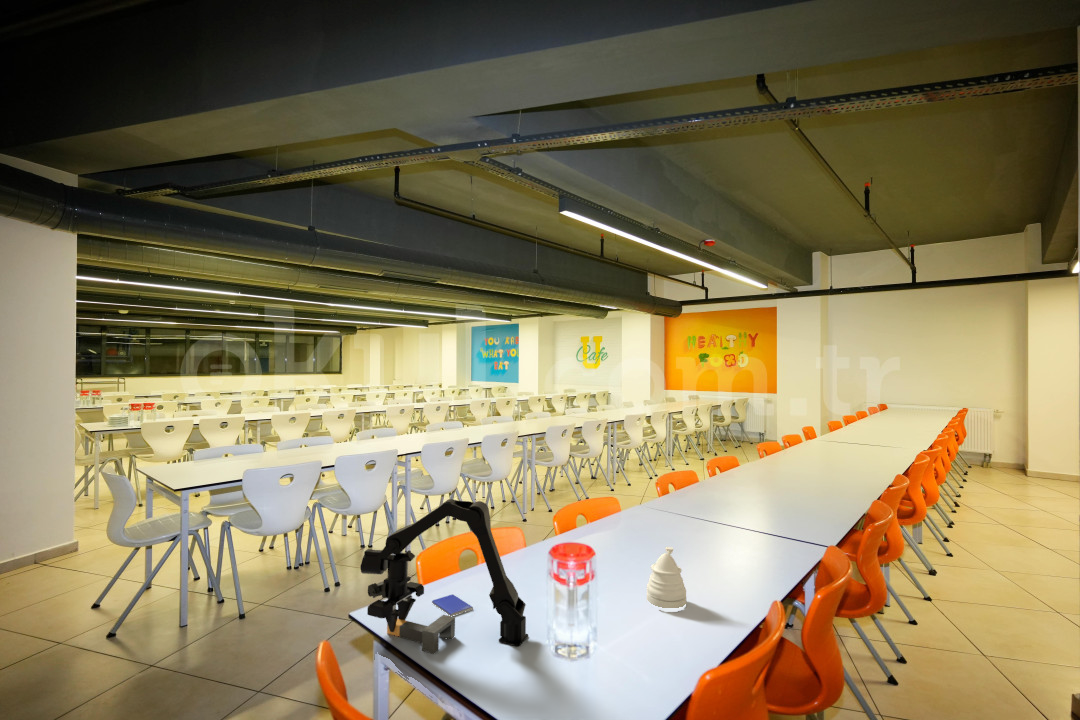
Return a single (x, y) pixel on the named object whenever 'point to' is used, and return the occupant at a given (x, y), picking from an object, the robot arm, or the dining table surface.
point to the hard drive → (452, 605)
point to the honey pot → (666, 583)
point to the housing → (437, 633)
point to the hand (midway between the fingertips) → (396, 628)
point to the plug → (407, 630)
